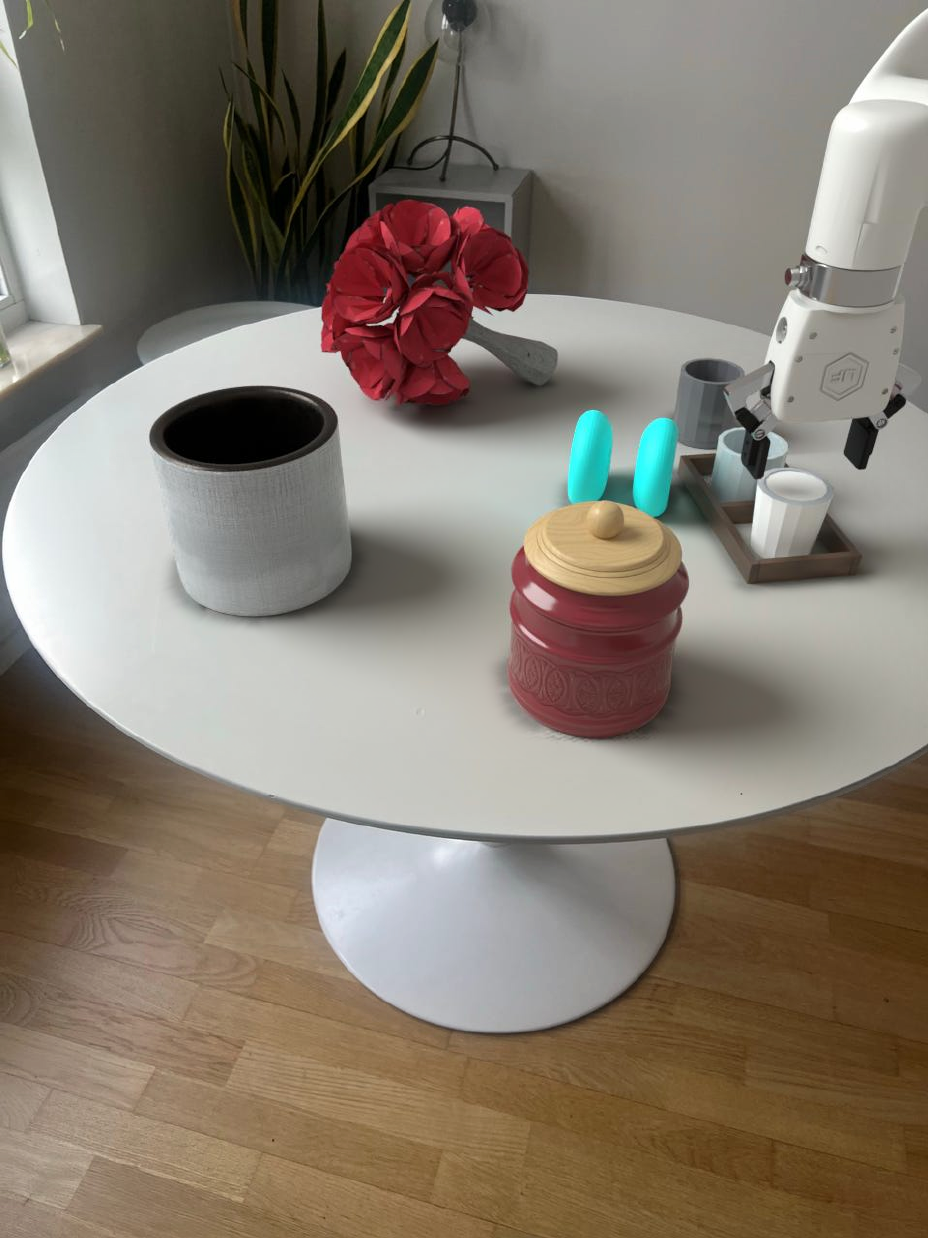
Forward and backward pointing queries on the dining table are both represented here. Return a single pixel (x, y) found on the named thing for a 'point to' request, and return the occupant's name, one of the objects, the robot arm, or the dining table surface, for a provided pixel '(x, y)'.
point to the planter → (254, 498)
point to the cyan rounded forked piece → (595, 458)
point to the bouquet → (426, 303)
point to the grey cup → (704, 401)
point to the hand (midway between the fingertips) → (803, 466)
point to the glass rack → (726, 514)
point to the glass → (740, 466)
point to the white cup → (789, 512)
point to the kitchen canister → (595, 618)
